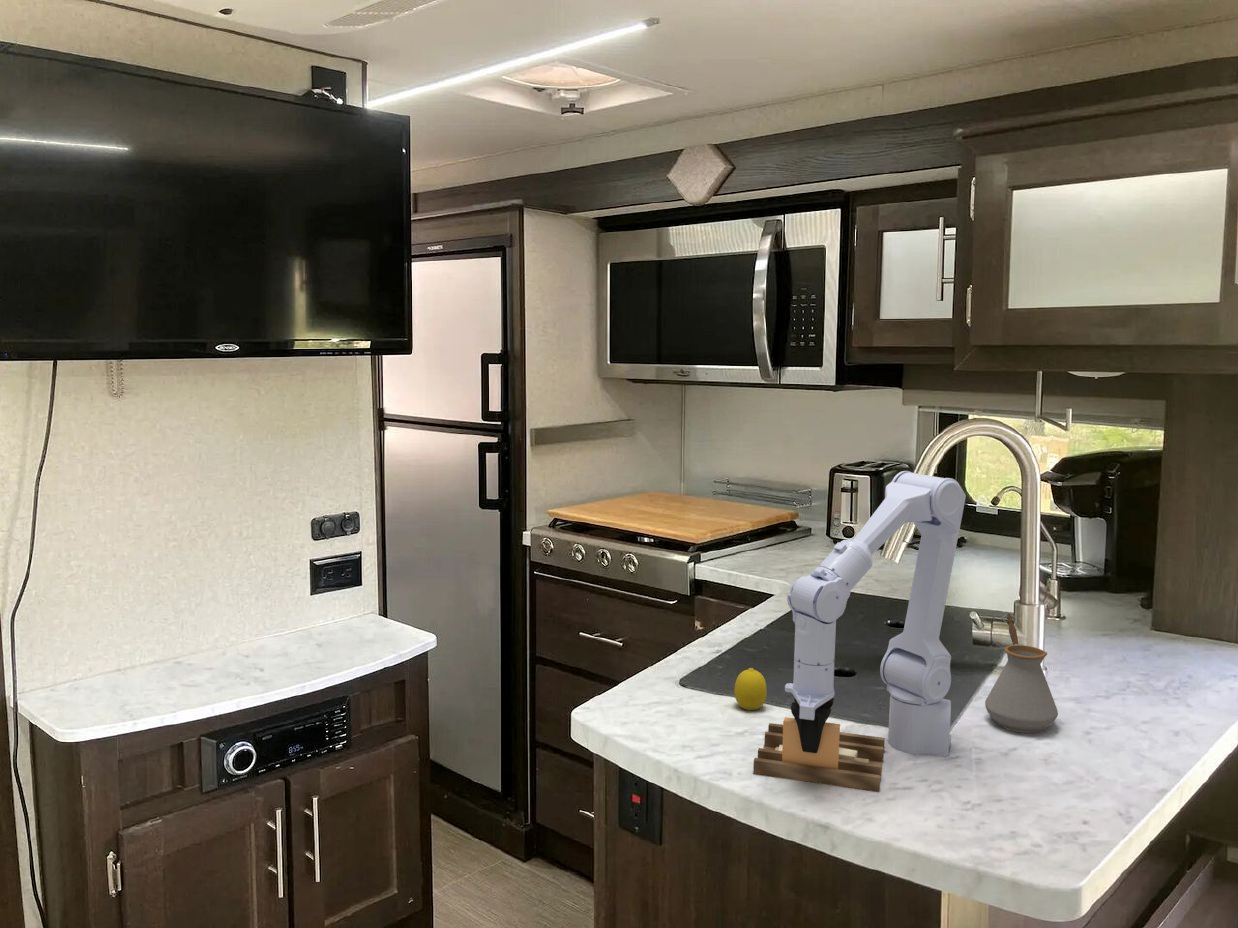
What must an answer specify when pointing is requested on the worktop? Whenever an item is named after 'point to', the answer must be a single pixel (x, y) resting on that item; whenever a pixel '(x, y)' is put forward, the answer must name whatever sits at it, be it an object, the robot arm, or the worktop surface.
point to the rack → (844, 776)
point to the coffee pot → (1022, 690)
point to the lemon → (750, 689)
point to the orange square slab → (823, 757)
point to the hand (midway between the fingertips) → (810, 748)
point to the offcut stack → (842, 754)
